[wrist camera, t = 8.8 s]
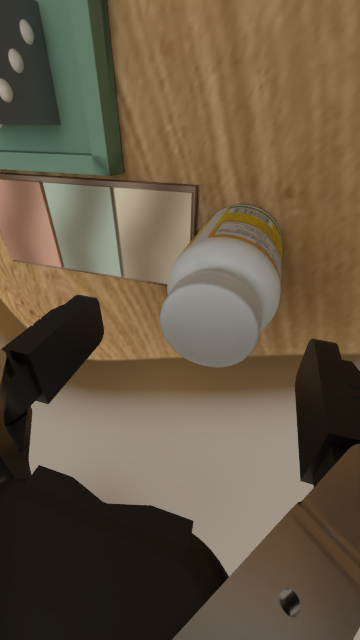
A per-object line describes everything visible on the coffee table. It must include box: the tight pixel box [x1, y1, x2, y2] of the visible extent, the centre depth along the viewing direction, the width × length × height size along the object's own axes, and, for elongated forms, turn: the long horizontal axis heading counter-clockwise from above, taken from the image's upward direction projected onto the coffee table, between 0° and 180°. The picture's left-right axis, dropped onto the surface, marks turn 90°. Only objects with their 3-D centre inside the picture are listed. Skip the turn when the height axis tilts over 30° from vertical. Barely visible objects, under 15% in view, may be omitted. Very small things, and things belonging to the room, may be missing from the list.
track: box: [0, 173, 198, 286], centre depth 20 cm, size 16×7×1 cm, turn 89°
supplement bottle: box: [160, 205, 283, 367], centre depth 14 cm, size 5×5×10 cm
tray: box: [0, 0, 124, 176], centre depth 15 cm, size 12×10×2 cm
